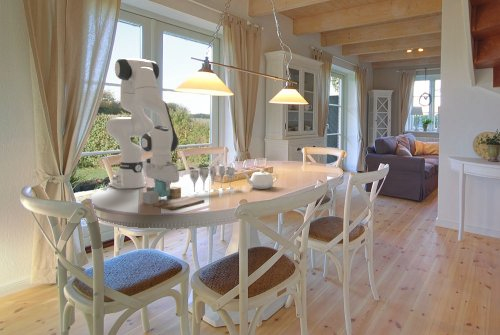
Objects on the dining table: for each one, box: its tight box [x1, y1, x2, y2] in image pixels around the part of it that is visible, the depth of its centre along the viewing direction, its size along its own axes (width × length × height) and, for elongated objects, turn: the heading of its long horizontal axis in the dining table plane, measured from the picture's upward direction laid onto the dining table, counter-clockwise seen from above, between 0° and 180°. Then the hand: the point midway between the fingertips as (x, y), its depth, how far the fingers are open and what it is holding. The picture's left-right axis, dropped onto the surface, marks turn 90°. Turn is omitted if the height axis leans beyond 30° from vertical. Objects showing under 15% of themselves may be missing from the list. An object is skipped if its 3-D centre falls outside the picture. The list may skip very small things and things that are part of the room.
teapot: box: [242, 168, 279, 190], centre depth 201 cm, size 22×14×11 cm, turn 112°
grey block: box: [142, 191, 160, 205], centre depth 162 cm, size 5×5×5 cm
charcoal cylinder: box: [145, 186, 155, 192], centre depth 173 cm, size 4×4×5 cm
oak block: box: [166, 186, 182, 200], centre depth 173 cm, size 5×5×5 cm
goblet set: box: [189, 165, 236, 195], centre depth 191 cm, size 28×6×13 cm, turn 127°
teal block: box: [154, 180, 171, 198], centre depth 168 cm, size 5×5×7 cm
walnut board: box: [153, 195, 205, 211], centre depth 161 cm, size 12×20×1 cm, turn 144°
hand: (162, 189), depth 168 cm, fingers closed on teal block, 5 cm apart
